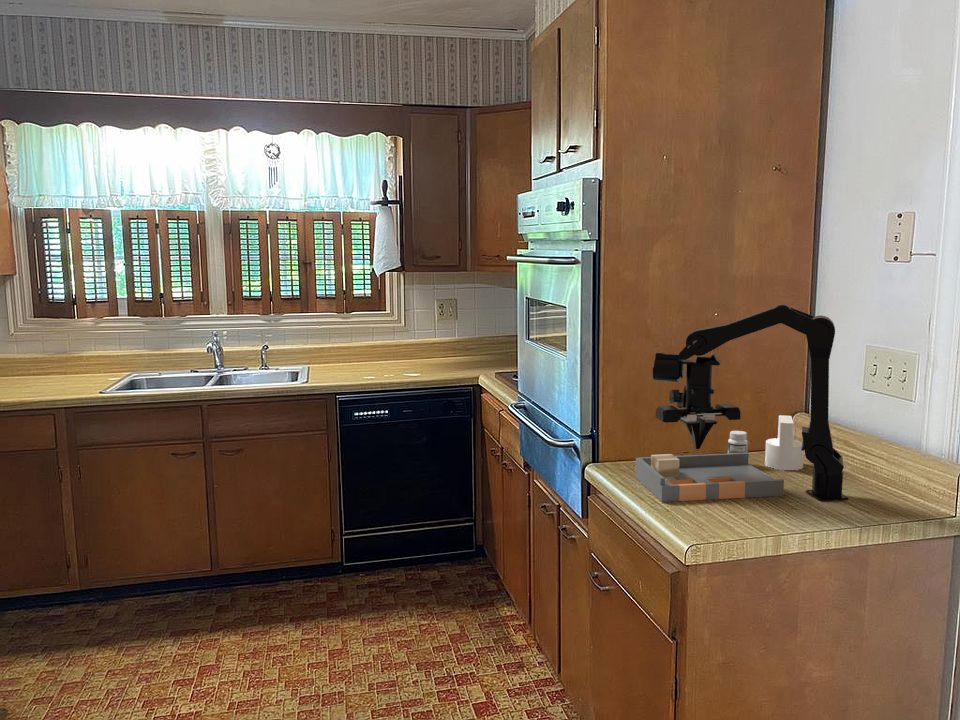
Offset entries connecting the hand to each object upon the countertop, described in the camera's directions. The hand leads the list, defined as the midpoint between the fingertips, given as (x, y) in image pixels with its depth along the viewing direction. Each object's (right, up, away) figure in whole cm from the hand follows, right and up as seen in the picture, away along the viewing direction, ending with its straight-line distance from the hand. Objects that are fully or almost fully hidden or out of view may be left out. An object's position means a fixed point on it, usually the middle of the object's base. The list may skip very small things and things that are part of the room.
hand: (697, 448), depth 176 cm
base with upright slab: (+26, -6, +14) cm, 30 cm away
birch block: (-8, -6, 0) cm, 10 cm away
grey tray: (+2, -9, -2) cm, 9 cm away
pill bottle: (+15, -6, +16) cm, 22 cm away
